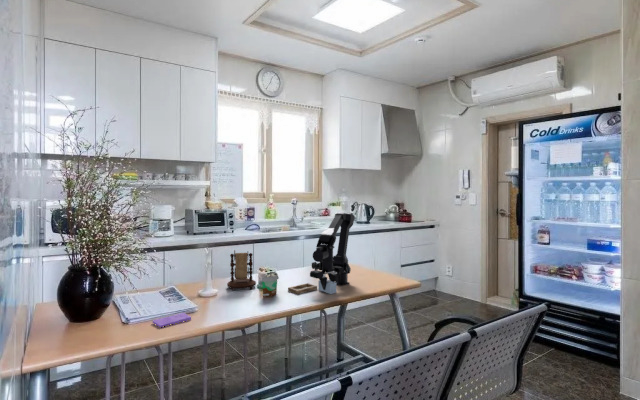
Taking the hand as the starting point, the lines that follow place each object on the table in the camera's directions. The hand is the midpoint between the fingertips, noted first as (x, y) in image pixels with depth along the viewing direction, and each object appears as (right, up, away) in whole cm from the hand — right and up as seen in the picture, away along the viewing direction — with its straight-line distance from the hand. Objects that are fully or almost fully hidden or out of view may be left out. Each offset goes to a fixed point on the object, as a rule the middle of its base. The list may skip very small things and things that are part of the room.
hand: (327, 288), depth 188 cm
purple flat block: (-62, -4, -41) cm, 75 cm away
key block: (0, -1, 0) cm, 1 cm away
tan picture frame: (-13, -1, +2) cm, 13 cm away
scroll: (-45, -1, +7) cm, 45 cm away
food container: (-27, -2, -5) cm, 28 cm away
